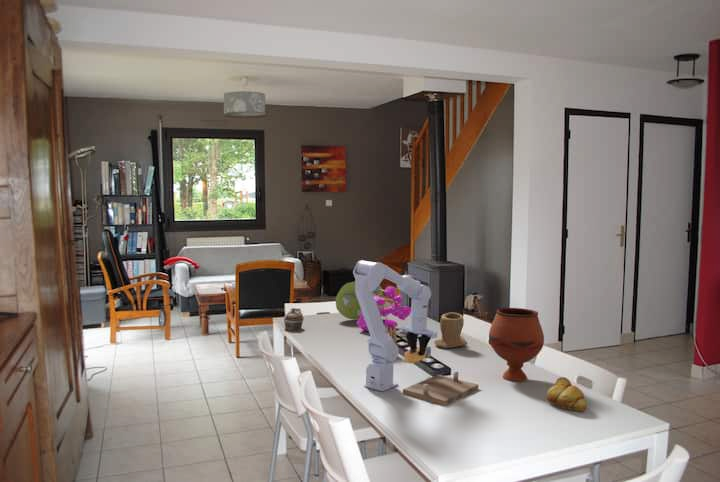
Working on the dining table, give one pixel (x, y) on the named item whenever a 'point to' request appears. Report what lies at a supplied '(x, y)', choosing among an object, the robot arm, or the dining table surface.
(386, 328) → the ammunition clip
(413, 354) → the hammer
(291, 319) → the cupcake
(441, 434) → the dining table surface
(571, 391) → the bread roll
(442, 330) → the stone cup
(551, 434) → the dining table surface
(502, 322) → the goblet
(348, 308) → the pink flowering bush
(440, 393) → the walnut board
